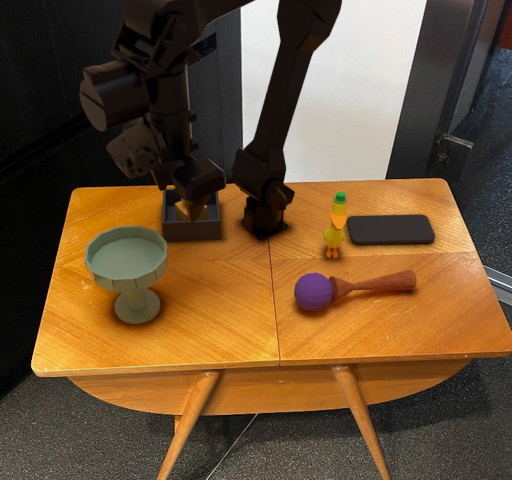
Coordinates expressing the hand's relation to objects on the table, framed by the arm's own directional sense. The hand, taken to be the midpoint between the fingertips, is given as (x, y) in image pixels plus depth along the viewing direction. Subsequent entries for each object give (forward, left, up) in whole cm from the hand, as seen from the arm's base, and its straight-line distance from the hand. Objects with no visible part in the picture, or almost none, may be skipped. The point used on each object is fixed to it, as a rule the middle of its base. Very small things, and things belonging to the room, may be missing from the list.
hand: (177, 205), depth 82 cm
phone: (-36, +12, -13) cm, 40 cm away
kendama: (-19, +21, -13) cm, 31 cm away
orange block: (-7, -10, -12) cm, 18 cm away
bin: (-7, -10, -13) cm, 18 cm away
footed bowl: (+11, +4, -13) cm, 17 cm away
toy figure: (-23, +11, -13) cm, 29 cm away
